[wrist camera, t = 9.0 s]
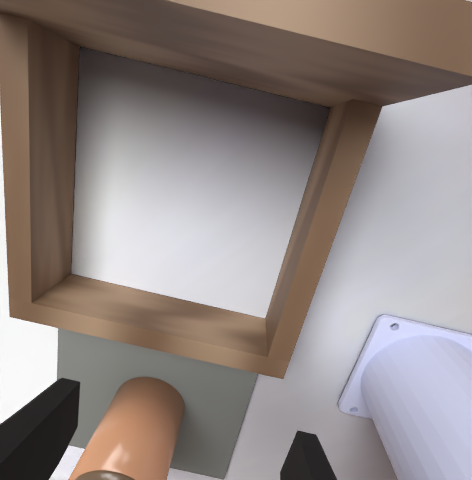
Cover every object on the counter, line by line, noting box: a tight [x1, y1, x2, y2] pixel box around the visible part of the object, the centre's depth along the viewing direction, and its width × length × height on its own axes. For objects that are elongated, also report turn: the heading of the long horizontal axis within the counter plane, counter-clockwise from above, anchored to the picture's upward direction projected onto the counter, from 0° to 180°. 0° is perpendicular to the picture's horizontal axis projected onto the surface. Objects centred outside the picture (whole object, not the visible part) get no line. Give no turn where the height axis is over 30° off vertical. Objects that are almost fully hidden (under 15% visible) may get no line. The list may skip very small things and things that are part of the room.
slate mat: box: [57, 328, 258, 479], centre depth 22 cm, size 14×12×1 cm
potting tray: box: [0, 0, 472, 379], centre depth 12 cm, size 15×15×9 cm
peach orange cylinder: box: [68, 377, 185, 480], centre depth 19 cm, size 5×5×6 cm
